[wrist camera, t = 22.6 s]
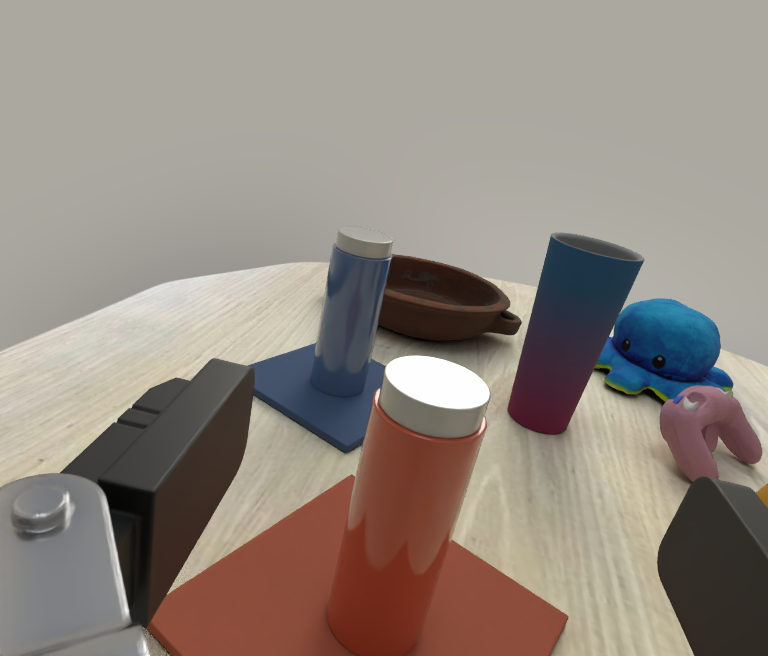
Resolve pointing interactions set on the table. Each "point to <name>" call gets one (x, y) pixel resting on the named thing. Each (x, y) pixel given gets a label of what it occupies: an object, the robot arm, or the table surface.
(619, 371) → the plush toy
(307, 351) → the blue mat
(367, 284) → the blue shaker
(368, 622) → the terracotta shaker
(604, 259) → the cup
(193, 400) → the robot arm
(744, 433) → the video game controller
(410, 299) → the dish
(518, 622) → the terracotta mat
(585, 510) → the table surface
